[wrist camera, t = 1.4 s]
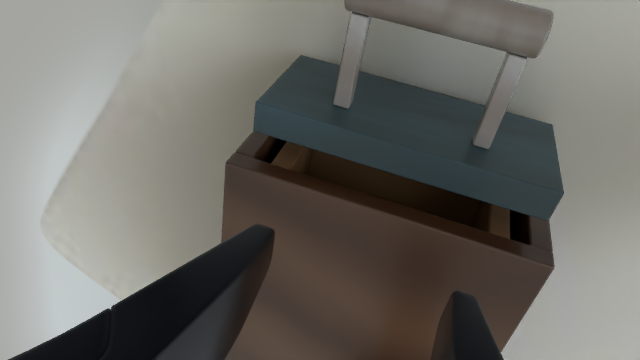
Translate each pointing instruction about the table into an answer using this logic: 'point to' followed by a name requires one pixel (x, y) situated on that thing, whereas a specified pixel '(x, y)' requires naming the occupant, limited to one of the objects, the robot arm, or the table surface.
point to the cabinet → (368, 266)
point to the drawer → (422, 120)
